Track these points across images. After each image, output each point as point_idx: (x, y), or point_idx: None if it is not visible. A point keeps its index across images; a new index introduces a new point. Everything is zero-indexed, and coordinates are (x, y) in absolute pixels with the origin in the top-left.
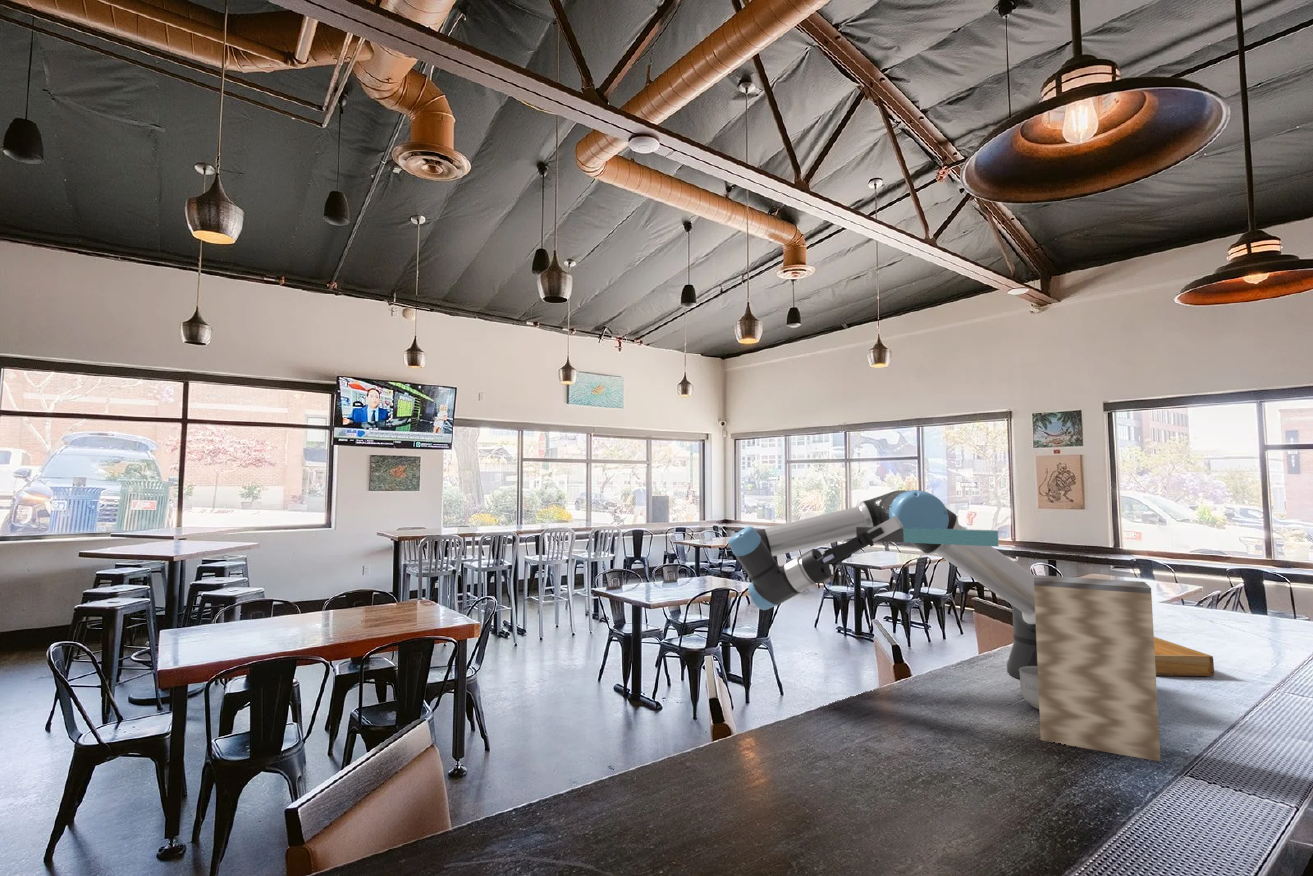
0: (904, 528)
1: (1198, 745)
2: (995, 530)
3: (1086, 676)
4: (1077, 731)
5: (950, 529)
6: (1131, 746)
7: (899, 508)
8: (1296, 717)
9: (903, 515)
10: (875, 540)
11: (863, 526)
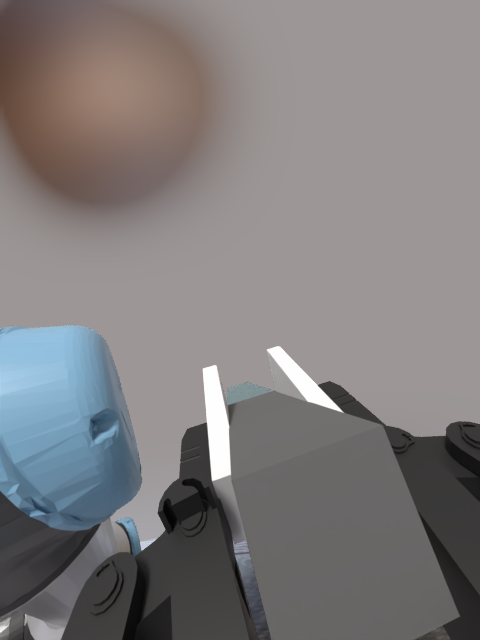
0: (271, 390)
1: (244, 557)
2: (230, 387)
3: None
4: None
5: (242, 388)
6: None
7: (99, 368)
8: (150, 542)
9: (115, 396)
10: None
11: (265, 444)
